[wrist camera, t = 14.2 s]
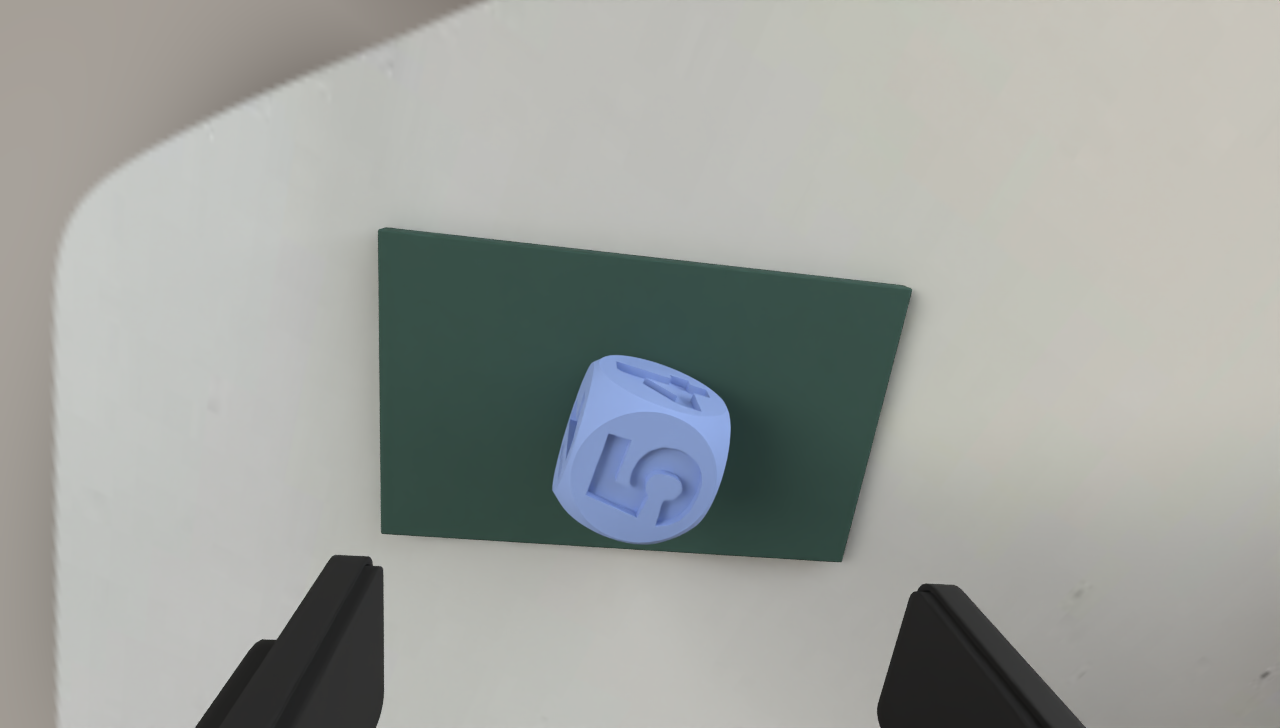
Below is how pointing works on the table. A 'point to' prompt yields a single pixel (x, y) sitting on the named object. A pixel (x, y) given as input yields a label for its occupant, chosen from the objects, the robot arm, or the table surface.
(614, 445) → the decorative dice
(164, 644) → the table surface
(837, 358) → the mat
